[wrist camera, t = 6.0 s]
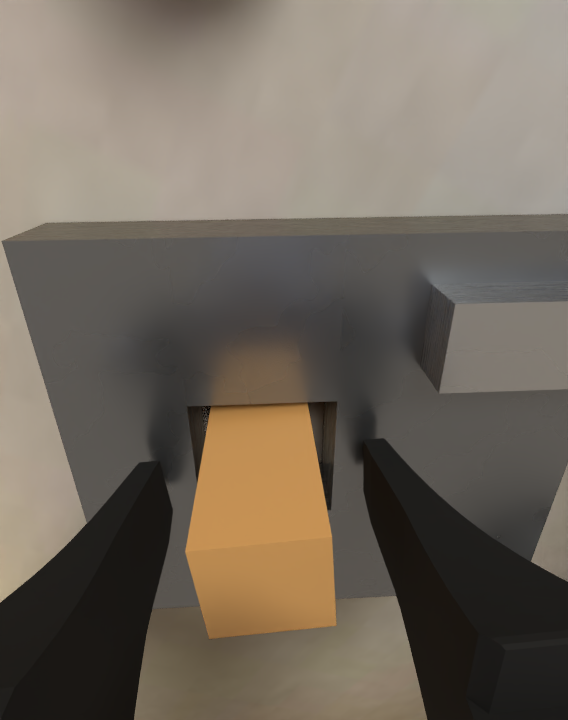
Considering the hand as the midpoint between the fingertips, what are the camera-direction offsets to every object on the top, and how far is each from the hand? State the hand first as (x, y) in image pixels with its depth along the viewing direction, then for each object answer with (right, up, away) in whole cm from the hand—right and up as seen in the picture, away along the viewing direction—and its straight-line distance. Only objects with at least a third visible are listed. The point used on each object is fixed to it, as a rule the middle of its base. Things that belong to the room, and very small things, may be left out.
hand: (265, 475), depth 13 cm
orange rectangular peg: (0, +2, +3) cm, 3 cm away
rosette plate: (+2, +1, +3) cm, 4 cm away
